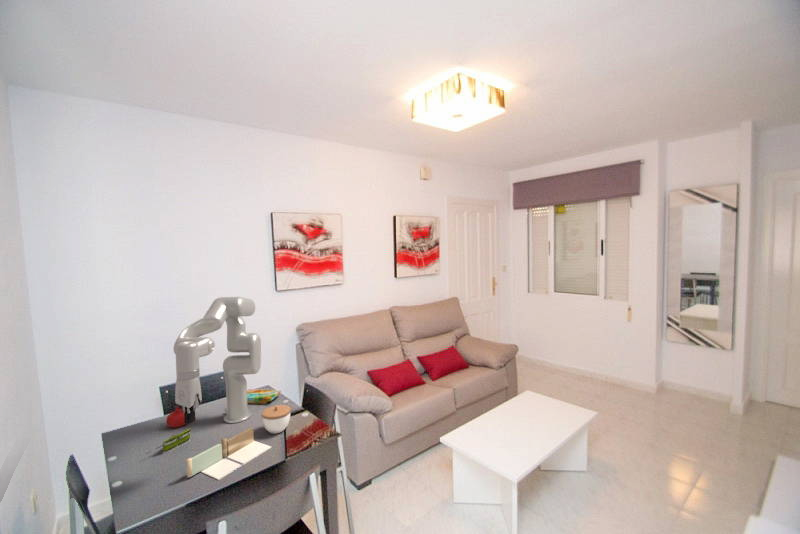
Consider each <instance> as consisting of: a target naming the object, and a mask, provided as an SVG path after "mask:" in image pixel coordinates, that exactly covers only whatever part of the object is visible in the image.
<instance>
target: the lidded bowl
mask: <svg viewBox="0 0 800 534" xmlns="http://www.w3.org/2000/svg"><path fill="white" fill-rule="evenodd" d="M261 418H262V419H261V420H262V424H263V427H264V428H265V430H266V431H268V432H269V434H271V435H272V434H279V433H283V432H284V431H285V430H286V428H287V427H288V425H289V424H290V422H291V421H290V420H291V407H290V406H288V405H285V404H279V405H278V404H276V405H271V406H269V407H267V408H264V410H262V411H261Z"/></svg>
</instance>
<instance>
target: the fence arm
mask: <svg viewBox="0 0 800 534" xmlns="http://www.w3.org/2000/svg"><path fill="white" fill-rule="evenodd" d="M221 459H222V442H219V443H217V444H215V445H214V446H211V447H210V448H208V449H206V450H204V451H201V452H200V453H198V454H196V455H194V456H193V457H188V458H187V459H186V477H187V478H192V477H193V476H195V475H196V474H198V473H201V472H200V471H201V470H203V469H205V468H207V467H209V466H210V465H212V464H214V463H216V462H217V461H219V460H221Z"/></svg>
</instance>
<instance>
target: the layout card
mask: <svg viewBox="0 0 800 534" xmlns="http://www.w3.org/2000/svg"><path fill="white" fill-rule="evenodd" d="M270 449H272V446H271V445H268V444H265V443H262V442H259V441H256V440H254V442H252V443H250V444H249V445H247V446H245V447H243V448H242V449H240V450H238V451H236V452H235V453H233V454H231V455H229V456H228V455H227V457H226V458H222V459H221V460H219V461H217V462H216V463H214V464H212V465H210V466H209V467H207V468H205V469H203V470H201V471H200V472H199V473H202V474H204V475H207V476H209V477H211V478H213V479H215V480H217V481H221V480H222V479H223V478H225V477H227V476H228V475H230V474H232V473H233V472H234V470H235V471H236V470H237V468H238V469H239V468H241V467H243V466H244V465H245V464H248V463H249V462H250V461H252V460H254V459H256V458H257V457H259V456H260V455H262V454H264V453H265V452H267V451H268V450H270ZM242 465H243V466H242Z"/></svg>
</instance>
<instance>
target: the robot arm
mask: <svg viewBox="0 0 800 534" xmlns="http://www.w3.org/2000/svg"><path fill="white" fill-rule="evenodd" d="M255 311H256V304H255V301H254V300H252V298H246V297H242V296H224V297H223V296H222V297H221V296H220V297H218V298H216V299H214V300H213V301H212V303H211V304H210V306H209V308H208V310H207V311H206V312H205V314H204V316H203V317H202V318H199V319H198V320H197V321H194V322H193V323H191V324H190V325H188V326H186V327H185V328H184V329H182V331H181V332H180V334H179V335H178V337H177V338H176V340H175V342H174V344H173V353H174V355H175V370H176V380H175V389H174V391H175V392H174V401H175V404H176V405H177V406H181V408H182V407H183V408H182V409H183V412H184V418H185V423H187V424H186V425H189V424H191V423H193V422H195V421H196V410H198V409H200V404H201V403H202V386H201V380H200V376H201V374H200V358H203V357H206V356H210V354H212V353H213V351H214V350H215V345H216V344H215V341H214V340H213V338H212V337H209V336H208V337H207V336H205V335H208V334H212V333H214V332H216V331H218V330H220V329H221V328H222V327H223V325H224V323H226V349H227V351H228V352H230V353H233V354H234V353H237V354H235V355H229V356H227V357H225V359H224V360H223V361H222V370H223V373H224V379H225V393H226V394H225V395H226V396H225V397H226V398H225V399H226V408H224V409H223V412H226V414H225V415H224V416H223V421H224V422H225V423H227V424H237V423H242V422H244V421H247V420H248V419H249V418H250V417H252V411H251V410H249V409H248V407H249V406H248V404H249V403H248V402H247V391H248V382H247V379H246V378H245V376H244V375H256V374H258V373H259V372H260V369H261V366H262V365H261V364H262V363H261V362H262V359H261V357H262V341H261V336H260V335H259V334H258V333H255V332H248V333H247V332H246V321H245V320H244V318H243V317H250V316H253V314H255ZM239 353H248V354H239Z"/></svg>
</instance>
